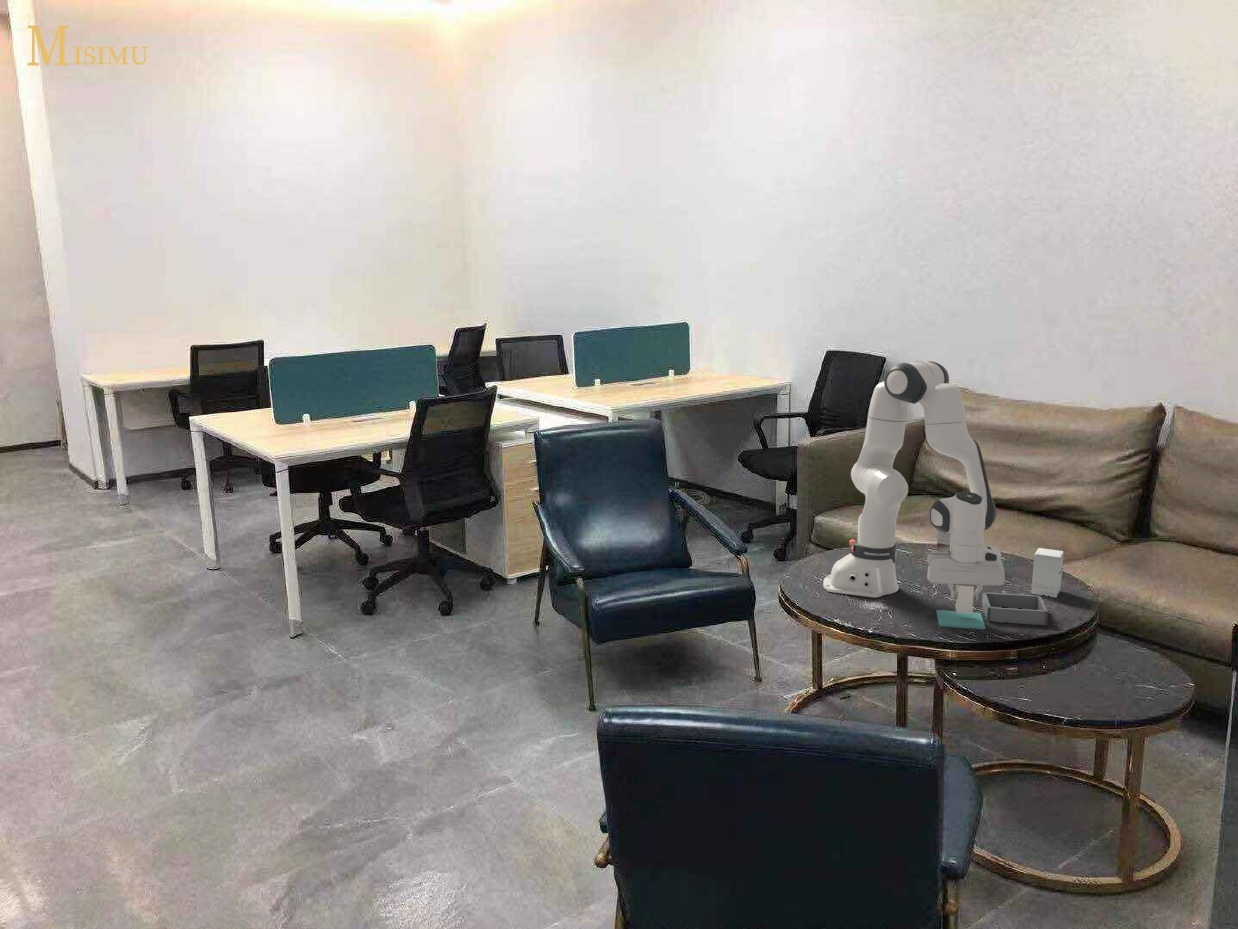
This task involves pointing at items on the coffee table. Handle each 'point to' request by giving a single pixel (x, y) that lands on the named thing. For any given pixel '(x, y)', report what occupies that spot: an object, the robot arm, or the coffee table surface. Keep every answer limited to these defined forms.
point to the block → (964, 598)
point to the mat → (960, 619)
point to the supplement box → (1047, 572)
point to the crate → (1012, 615)
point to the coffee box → (943, 541)
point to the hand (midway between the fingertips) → (964, 598)
